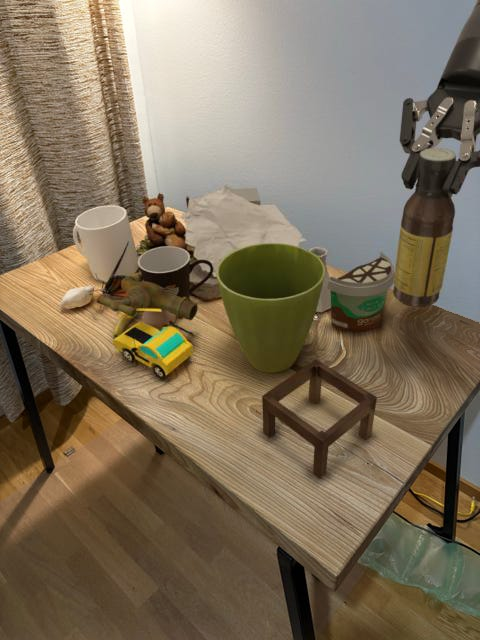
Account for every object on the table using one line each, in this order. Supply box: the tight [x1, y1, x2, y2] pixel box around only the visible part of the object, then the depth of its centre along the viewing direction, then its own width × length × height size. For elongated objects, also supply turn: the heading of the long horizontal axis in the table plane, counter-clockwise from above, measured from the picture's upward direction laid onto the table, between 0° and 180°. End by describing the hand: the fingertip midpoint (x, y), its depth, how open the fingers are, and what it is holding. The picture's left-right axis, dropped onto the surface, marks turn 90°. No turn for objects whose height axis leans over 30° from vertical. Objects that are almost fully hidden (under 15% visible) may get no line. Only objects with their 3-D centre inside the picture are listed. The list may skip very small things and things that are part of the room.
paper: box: [180, 184, 307, 277], centre depth 100 cm, size 24×6×20 cm
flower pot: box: [216, 243, 325, 374], centre depth 78 cm, size 15×15×16 cm
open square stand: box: [261, 358, 378, 480], centre depth 68 cm, size 10×10×7 cm
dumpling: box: [59, 285, 97, 310], centre depth 96 cm, size 7×5×4 cm
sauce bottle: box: [392, 147, 457, 308], centre depth 67 cm, size 6×6×20 cm
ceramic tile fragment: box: [190, 264, 222, 301], centre depth 99 cm, size 12×3×10 cm
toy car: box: [112, 308, 195, 380], centre depth 81 cm, size 12×8×8 cm, turn 53°
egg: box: [142, 309, 177, 331], centre depth 88 cm, size 5×5×7 cm
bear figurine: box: [136, 192, 198, 264], centre depth 105 cm, size 14×15×12 cm
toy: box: [230, 187, 261, 205], centre depth 110 cm, size 10×8×15 cm
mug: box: [72, 204, 139, 283], centre depth 102 cm, size 10×12×12 cm
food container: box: [327, 252, 395, 333], centre depth 86 cm, size 12×6×10 cm, turn 126°
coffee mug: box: [138, 246, 213, 319], centre depth 91 cm, size 12×9×10 cm
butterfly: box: [89, 241, 129, 313], centre depth 94 cm, size 12×10×10 cm
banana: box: [112, 311, 144, 338], centre depth 90 cm, size 8×2×4 cm
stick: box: [169, 321, 195, 337], centre depth 86 cm, size 6×1×2 cm
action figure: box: [96, 272, 198, 321], centre depth 82 cm, size 15×4×15 cm
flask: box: [308, 246, 331, 313], centre depth 91 cm, size 7×7×10 cm
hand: (426, 190), depth 62 cm, fingers closed on sauce bottle, 4 cm apart
